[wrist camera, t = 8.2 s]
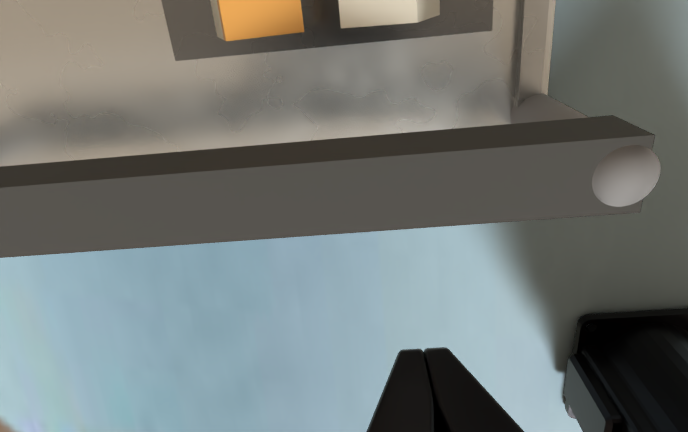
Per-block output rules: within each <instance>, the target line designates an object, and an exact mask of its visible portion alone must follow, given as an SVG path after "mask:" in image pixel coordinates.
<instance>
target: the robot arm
mask: <svg viewBox="0 0 688 432" xmlns="http://www.w3.org/2000/svg"><path fill="white" fill-rule="evenodd" d="M589 324H592V325H591V326H589V327H586V326H587V325H589ZM564 396H565V398H566V403H565V409H566V411H567V413H568V415H569V416H570V417H571V418H574V419H577V421H578V423H579V425H580V427H581V429H582V431H583V432H688V309H671V310H654V311H637V312H619V313H602V314H588V315H584V316H582V317H581V318H580V319H579V320H578V322H577V326H576V333H575V340H574V347H573V354H571V355H570V357H569V358H568V365H567V372H566V379H565V386H564ZM367 432H524V431H523V430H522V429H521V428H520V427H519V425H518V424H517V423H516V422H515V421H514V420H513V419H512V418H511V417H510V416H509V415H508V413H507V412H506V411H505V410H504V409H503V408H502V407H501V406H500V405H499V404H498V403H497V401H496V400H495V399H494V398H493V397H492V396H491V395H490V394H489V393H488V392H487V391H486V389H485V388H484V387H483V386H482V385H481V384H480V383H479V382H478V381H477V380H476V379H475V377H474V376H473V375H472V374H471V373H470V372H469V371H468V370H467V369H466V368H465V367H464V365H463V364H462V363H461V362H460V361H459V360H458V359H457V358H456V357H455V356H454V355H453V353H452V352H451V351H450V350H449V349H447V348H444V347H442V348H427V349H425V350H424V353H423V351H422V350H421V349H406V350H401V351H400V352H399V353H398V355H397V358H396V360H395V363H394V365H393V368H392V370H391V372H390V375H389V377H388V380H387V382H386V385H385V387H384V390H383V392H382V395H381V397H380V400H379V402H378V405H377V407H376V410H375V412H374V415H373V417H372V420H371V422H370V424H369V427H368V429H367Z"/></svg>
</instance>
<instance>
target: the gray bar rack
mask: <svg viewBox="0 0 688 432" xmlns="http://www.w3.org/2000/svg"><path fill="white" fill-rule="evenodd" d="M511 123H512V124H504V125H492V126H480V127H468V128H456V129H444V130H432V131H420V132H408V133H396V134H384V135H372V136H360V137H348V138H336V139H324V140H312V141H300V142H288V143H276V144H265V145H253V146H241V147H229V148H217V149H205V150H193V151H181V152H169V153H157V154H145V155H133V156H121V157H109V158H97V159H85V160H73V161H61V162H49V163H37V164H25V165H13V166H1V167H0V258H3V257H17V256H31V255H46V254H60V253H74V252H88V251H102V250H116V249H130V248H144V247H159V246H173V245H187V244H201V243H215V242H229V241H243V240H258V239H272V238H286V237H300V236H314V235H328V234H342V233H356V232H371V231H385V230H399V229H413V228H427V227H441V226H455V225H469V224H484V223H498V222H512V221H526V220H540V219H554V218H568V217H582V216H597V215H611V214H625V213H639V212H640V211H641V205H642V200H643V198H644V197H646V196H647V195H648V194H649V193H650V192H651V191H652V190H653V188H654V187H655V185H656V184H657V182H658V179H659V176H660V171H661V166H660V161H659V159H658V157H657V155H656V154H655V153H654V152H653V151H652V147H653V142H654V137H655V135H654V134H652V133H649V132H647V131H645V130H643V129H641V128H639V127H637V126H634V125H632V124H630V123H628V122H626V121H624V120H622V119H620V118H617V117H615V116H613V115H612V116H600V117H588V116H586V115H584V114H582V113H580V112H578V111H576V110H575V109H573V108H571V107H569V106H567V105H565V104H563V103H561V102H559V101H557V100H555V99H554V98H552V97H550V96H548V95H546V94H544V93H542V94H539V95H534V96H531V97H529V98H527V99H526V100H524V101H523V102H522V103H521V104H520V106H519V107H516V106H515V105H513V107H512V110H511Z"/></svg>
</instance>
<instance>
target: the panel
mask: <svg viewBox="0 0 688 432" xmlns="http://www.w3.org/2000/svg"><path fill="white" fill-rule="evenodd" d="M555 3H556V0H440V15H438V16H435V17H432V18H429V19H426V20H424V21H421V22H418V23H406V24H393V25H380V26H367V27H353V28H341V25H340V13H339V2H338V0H301V8H302V16H303V25H304V32H300V33H292V34H284V35H275V36H267V37H259V38H250V39H242V40H233V41H225V40H223V39H221V38H219V37H217V33H216V28H215V23H214V17H213V12H212V7H211V2H210V0H0V167H1V166H13V165H25V164H37V163H49V162H61V161H73V160H85V159H97V158H109V157H121V156H133V155H145V154H157V153H169V152H181V151H193V150H205V149H217V148H229V147H241V146H253V145H265V144H276V143H288V142H300V141H312V140H324V139H336V138H348V137H360V136H372V135H384V134H396V133H408V132H420V131H432V130H444V129H456V128H468V127H480V126H492V125H504V124H512V123H511V110H512V107H513V105H515V106H516V107H519V106H520V104H521V103H522V102H523V101H524V100H526V99H527V98H529V97H531V96H534V95H539V94H542V93H544V94H546V95H547V94H548V83H549V71H550V60H551V49H552V37H553V26H554V15H555Z"/></svg>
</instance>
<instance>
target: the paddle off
mask: <svg viewBox="0 0 688 432" xmlns="http://www.w3.org/2000/svg"><path fill="white" fill-rule="evenodd" d="M210 2H211V7H212V12H213V17H214V23H215V28H216V33H217V37H219V38H221V39H223V40H225V41H233V40H242V39H250V38H259V37H267V36H275V35H284V34H292V33H300V32H304V25H303V16H302V8H301V0H210Z"/></svg>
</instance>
